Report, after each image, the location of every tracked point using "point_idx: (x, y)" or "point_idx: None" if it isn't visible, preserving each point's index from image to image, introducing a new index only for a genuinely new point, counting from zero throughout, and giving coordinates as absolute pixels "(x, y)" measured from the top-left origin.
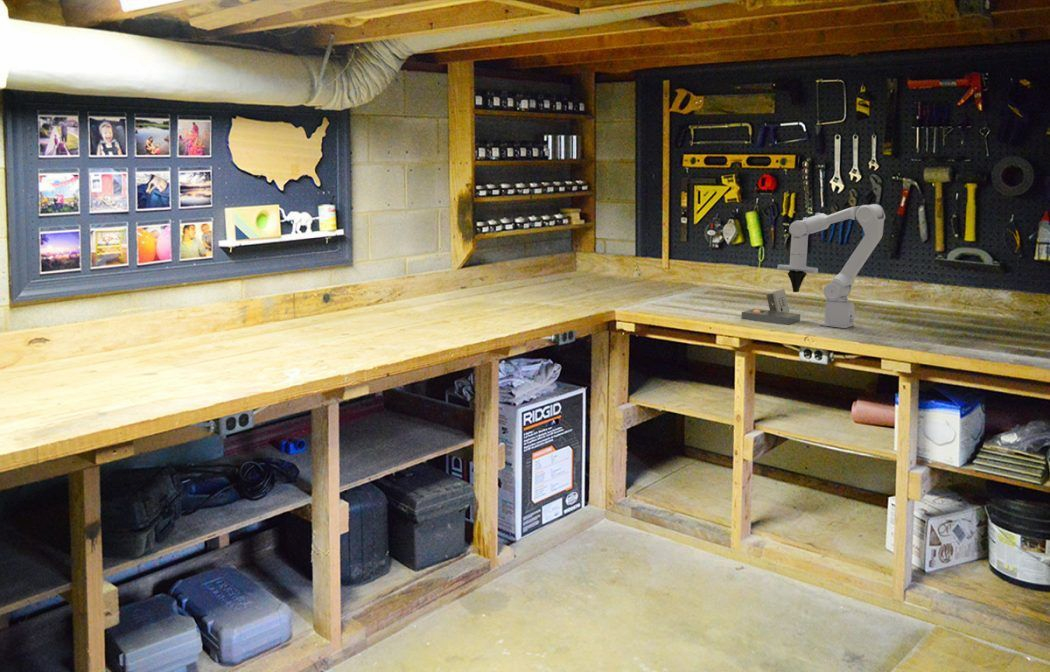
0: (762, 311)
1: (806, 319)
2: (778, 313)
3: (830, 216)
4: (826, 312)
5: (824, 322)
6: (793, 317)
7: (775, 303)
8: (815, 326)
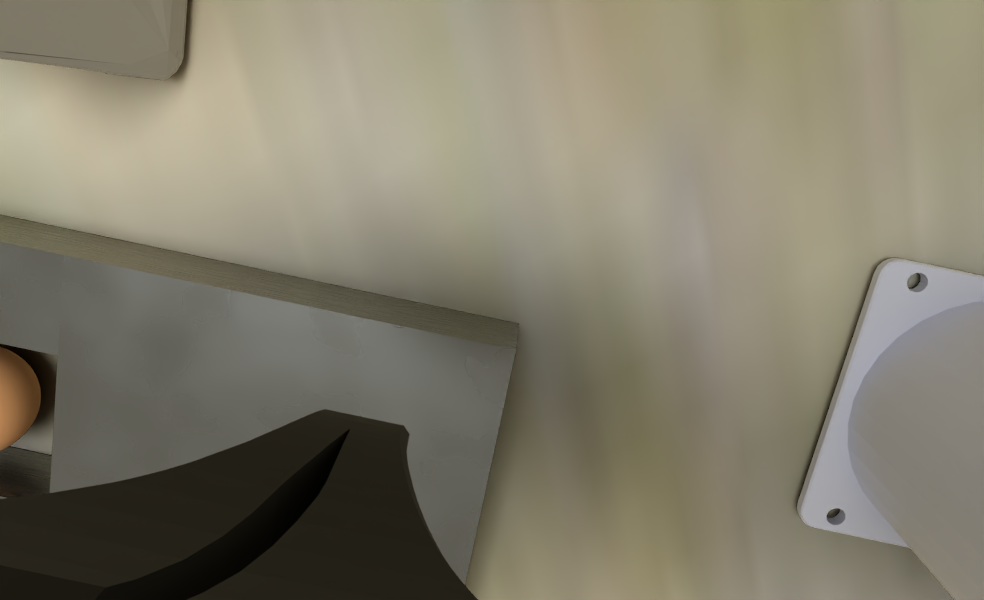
0: (1, 342)
1: (566, 151)
2: (243, 436)
3: None
4: (946, 589)
5: (854, 462)
6: (475, 536)
7: (4, 56)
8: (754, 581)
